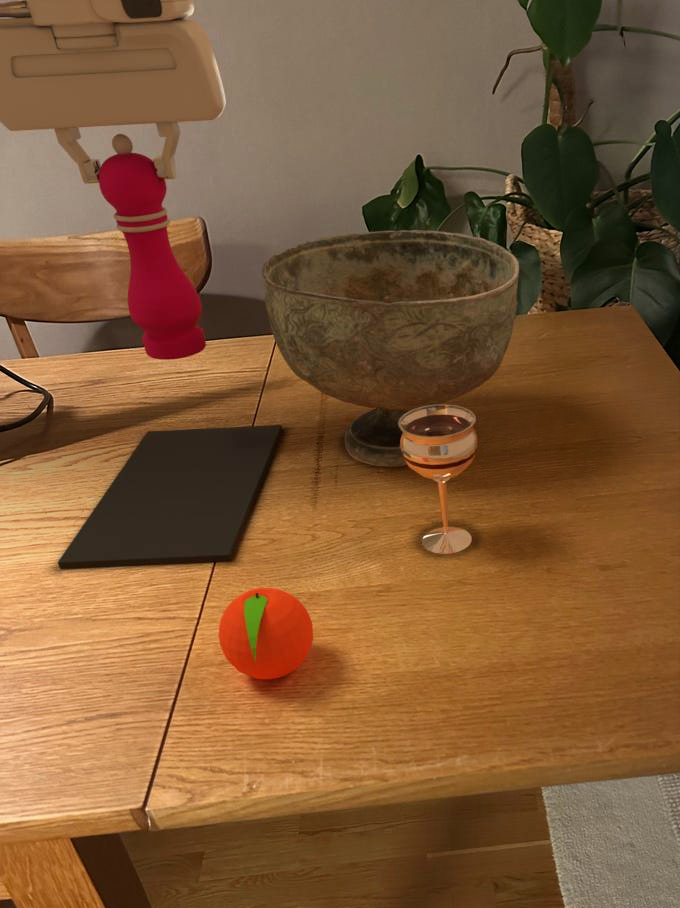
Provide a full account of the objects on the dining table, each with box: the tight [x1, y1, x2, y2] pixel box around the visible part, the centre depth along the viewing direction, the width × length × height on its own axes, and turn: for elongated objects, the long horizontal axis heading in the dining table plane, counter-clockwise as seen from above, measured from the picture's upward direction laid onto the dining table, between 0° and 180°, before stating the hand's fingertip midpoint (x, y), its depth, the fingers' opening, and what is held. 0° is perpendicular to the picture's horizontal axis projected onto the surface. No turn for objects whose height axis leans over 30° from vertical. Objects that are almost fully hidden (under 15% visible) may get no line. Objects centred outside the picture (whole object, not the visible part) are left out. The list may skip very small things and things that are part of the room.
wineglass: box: [398, 403, 478, 555], centre depth 75 cm, size 7×7×12 cm
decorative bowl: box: [261, 229, 520, 468], centre depth 90 cm, size 26×26×20 cm
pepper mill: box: [98, 133, 207, 361], centre depth 83 cm, size 7×7×20 cm
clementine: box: [218, 587, 314, 680], centre depth 63 cm, size 8×7×7 cm
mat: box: [57, 424, 284, 570], centre depth 88 cm, size 16×28×1 cm, turn 1°
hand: (132, 180), depth 80 cm, fingers closed on pepper mill, 6 cm apart
